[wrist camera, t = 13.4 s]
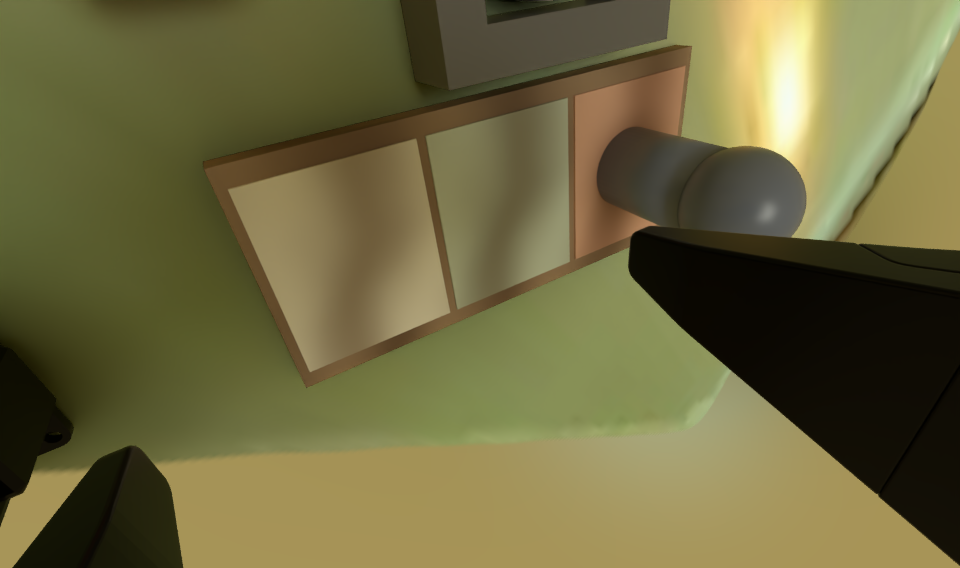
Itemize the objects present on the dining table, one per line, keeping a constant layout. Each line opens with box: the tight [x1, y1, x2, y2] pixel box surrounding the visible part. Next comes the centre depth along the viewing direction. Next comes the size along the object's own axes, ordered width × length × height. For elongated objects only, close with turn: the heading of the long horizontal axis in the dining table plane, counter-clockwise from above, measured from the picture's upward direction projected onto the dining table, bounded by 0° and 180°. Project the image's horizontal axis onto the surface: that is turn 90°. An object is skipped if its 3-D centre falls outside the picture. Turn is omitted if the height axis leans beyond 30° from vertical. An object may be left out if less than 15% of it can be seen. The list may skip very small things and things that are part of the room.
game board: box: [203, 45, 692, 388], centre depth 22 cm, size 22×10×1 cm, turn 98°
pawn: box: [597, 127, 806, 238], centre depth 20 cm, size 5×5×9 cm
